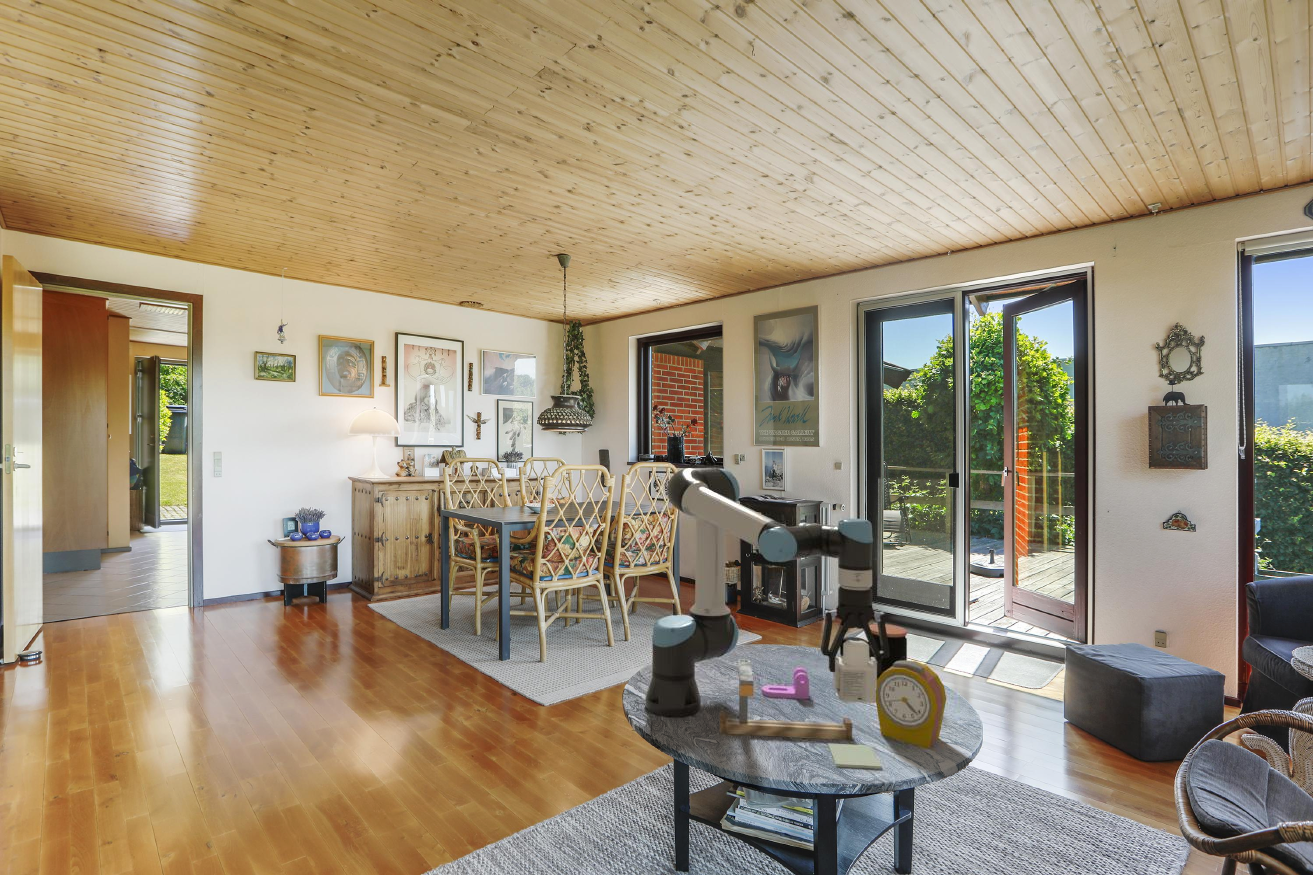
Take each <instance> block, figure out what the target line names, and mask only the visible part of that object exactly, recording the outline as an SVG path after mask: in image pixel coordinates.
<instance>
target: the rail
mask: <svg viewBox="0 0 1313 875" xmlns="http://www.w3.org/2000/svg"><path fill="white" fill-rule="evenodd" d="M842 719H843V720H842V722H843V723H828V722H827V723H826V722H810V721H809V722H808V721H807V722H804V721H789V720H788V721H786V720H769V719H768V720H765V719H748V718H747V722H739V718H727V712H726V711H719V734H724V735H725V734H726V735H728V734H729V735H749V736H750V735H751V736H766V737H769V736H770V737H786V738H787V737H788V738H803V739H804V738H805V739H810V738H811V739H823V740H824V739H826V740H827V739H829V740H846V741H852V740H853V722H852V720H851V717H843V718H842Z"/></svg>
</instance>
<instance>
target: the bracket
mask: <svg viewBox="0 0 1313 875" xmlns="http://www.w3.org/2000/svg"><path fill="white" fill-rule="evenodd" d="M809 693H810V678H809V677H808V673H807V670H806V669H805V668H803V667H797V668H795V669H794V671H793V685H792V686H791V685H790V686H787V685H775V684H774V685H773V684H772V685H771V684H769V685H768V684H767V685H764V686H762V687H761V694H762V695H764V696H765V697H772V698H786V699H788V698H789V699H803V700H805V699H806V700H809V699H810V697H809V696H810V694H809Z"/></svg>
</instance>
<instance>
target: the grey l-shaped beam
mask: <svg viewBox="0 0 1313 875" xmlns="http://www.w3.org/2000/svg"><path fill="white" fill-rule="evenodd" d="M737 673H738V679H739V685H738V690H739V693H738V700H739V701H738V719H739V722H747V719H748V713H749V712H748V707H749V706H748V704H749V703H748V700H749V697H754V676H753V670H752V665H751V660H749V659H744V658H743V659H741V658H740V659H737Z"/></svg>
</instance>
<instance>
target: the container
mask: <svg viewBox="0 0 1313 875" xmlns="http://www.w3.org/2000/svg"><path fill="white" fill-rule="evenodd" d="M839 650H840V651H839V656H837V657H838V659H839V688H835V687H834V689H835V692H836V694H837V695H838V698H839V701H841V702H842V703H843V702H845V703H865V704H876V669H875V668H874V666H873V665H872V663H871V662H870V643H869V642H868V640H867V639H864V638H862V637H858V636H857V637H856V636H847V637H844V639H843V641H842V643H841V646H840V648H839Z"/></svg>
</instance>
